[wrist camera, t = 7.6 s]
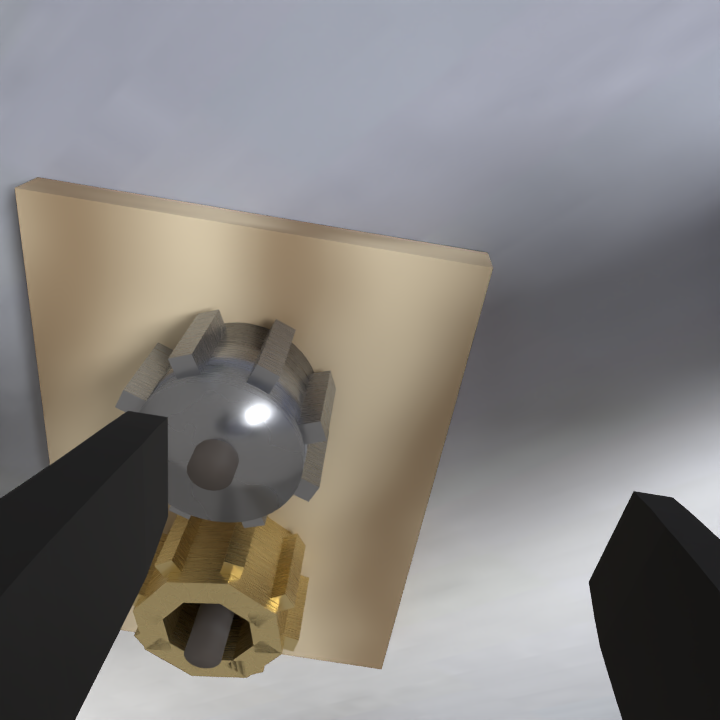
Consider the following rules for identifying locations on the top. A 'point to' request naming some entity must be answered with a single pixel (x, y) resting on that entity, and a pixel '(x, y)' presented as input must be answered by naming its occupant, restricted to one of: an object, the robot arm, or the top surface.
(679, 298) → the top surface
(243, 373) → the steel gear
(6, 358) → the top surface
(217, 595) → the brass gear
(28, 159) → the top surface
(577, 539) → the top surface
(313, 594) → the gear board
